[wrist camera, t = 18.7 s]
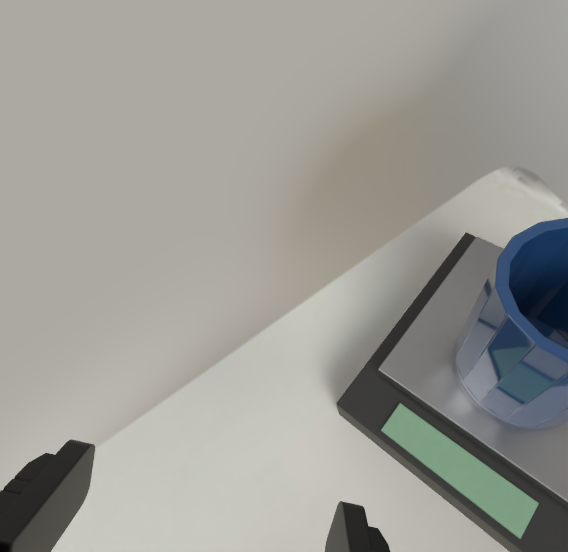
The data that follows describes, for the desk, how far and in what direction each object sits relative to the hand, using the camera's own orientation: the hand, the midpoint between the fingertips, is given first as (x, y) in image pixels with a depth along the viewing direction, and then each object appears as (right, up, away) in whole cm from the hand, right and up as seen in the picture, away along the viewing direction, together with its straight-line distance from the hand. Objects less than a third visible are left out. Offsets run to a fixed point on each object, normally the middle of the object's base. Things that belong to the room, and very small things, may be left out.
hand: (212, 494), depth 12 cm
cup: (+16, +2, +10) cm, 19 cm away
